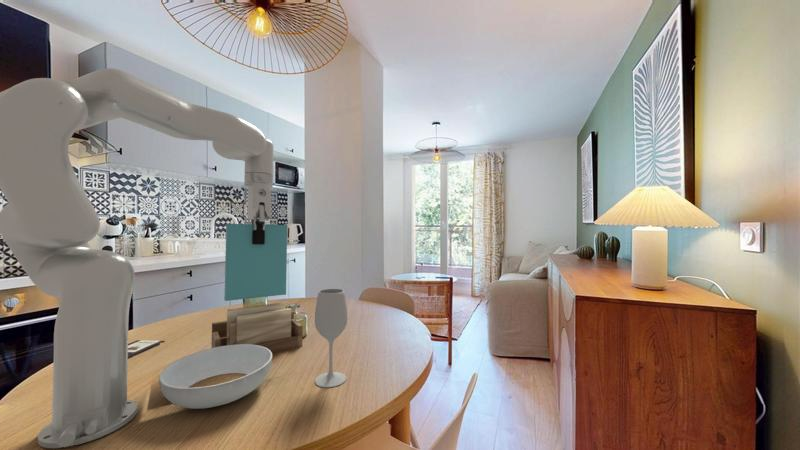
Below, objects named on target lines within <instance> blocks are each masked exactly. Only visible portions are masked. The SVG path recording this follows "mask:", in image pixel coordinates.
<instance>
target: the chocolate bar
mask: <svg viewBox="0 0 800 450" xmlns="http://www.w3.org/2000/svg"><path fill="white" fill-rule="evenodd" d="M162 343H166V341H165V340H145V339H144V340H143V339H142V340H139V339H136V340H135V341H132V342H128V360H129V359H131V358H133V357H135V356H139V355H140V354H142V353H144V352H147V351H149V350H151V349H154V348H155V347H159V346H160V344H162Z"/></svg>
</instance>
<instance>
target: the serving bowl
mask: <svg viewBox="0 0 800 450" xmlns="http://www.w3.org/2000/svg"><path fill="white" fill-rule="evenodd" d="M272 361H273V353H272V352H271V351H270V350H269V349H267V348H265V347H263V346H258V345H250V344H238V345H227V346H220V347H215V348H212V347H211V348H207V349H203V350H199V351H195V352H193V353H191V354H189V355H188V354H187V355H186V356H183V357H181V358H179V359H177V360H175V361H173V362H171V363H170V364H169V365H167V366H166V367H164V368H163V370H162V371H161V372H160V374H159V375H158V383H159V389H160V391H161V393H162V395H163V396H164V397H165V399H167V400H168V401H169V402H170V403H172V404H173V405H175V406H178V407H180V408H186V409H197V410H198V409H208V408H215V407H219V406H223V405H226V404H230V403H232V402H235V401H237V400H239V399H241V398H243V397H245V396H247V395H249V394H250V393H251V392H253V391H254V390H255V389H257V388H258V387H259V386H260V385H261V384H262V383H263V381H264V380H265V379H266V377H267V376H268V374H269V372H270V369H271V367H272ZM226 374H243V375H244V376H241V377H239V378H236V379H232V380H230V381H227V382H221V383H218V384H214V385H212V384H211V385H205V386H196V387H191V386H193V385H194V384H197V383H198V382H201V381H203V380H205V379H208V378H212V377H216V376H220V375H226Z"/></svg>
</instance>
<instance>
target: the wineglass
mask: <svg viewBox="0 0 800 450" xmlns="http://www.w3.org/2000/svg"><path fill="white" fill-rule="evenodd" d="M347 325H348V306H347V299H346V294H345V289H341V288H325V289H324V288H323V289H321V290H318V294H317V298H316V302H315V311H314V326H315V329H316V331H317V332H318V333H319V335H320V336H322V338H324V339H325V340H327V342H328V345H329V349H328V350H329V353H328V354H329V355H328V357H329V361H328V365H329V366H328V367H329V368H328V369H329V370H328V372H324V373H322V374H319V375H317V376H316V378H315V379H314V384H315V385H316V386H317V387H320V388H324V389H325V388H326V389H327V388H328V389H330V388H336V387H339V386H341V385H343V384H344V383H345V382H346V379H347V376H346V374H344V373H342V372H339V371H333V345H334V341H335V340H336V339H337V338H338V337H340V336H341V334H342V333H343V332H344V330H345V329H346V327H347Z"/></svg>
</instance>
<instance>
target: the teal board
mask: <svg viewBox="0 0 800 450" xmlns="http://www.w3.org/2000/svg"><path fill="white" fill-rule="evenodd" d="M225 225H226V227H225V228H226V229H225V254H224V255H225V256H224V257H225V259H224V261H225V263H224V264H225V266H224V302H227V301H228V302H229V301H237V300H246V299H256V298H266V297H276V296H284V295H286V294H287V261H288V259H287V258H288V252H287V251H288V225H287V224H265V230H263V231H265V243H264V244H252V230H254V224H251V223H226V224H225Z"/></svg>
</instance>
